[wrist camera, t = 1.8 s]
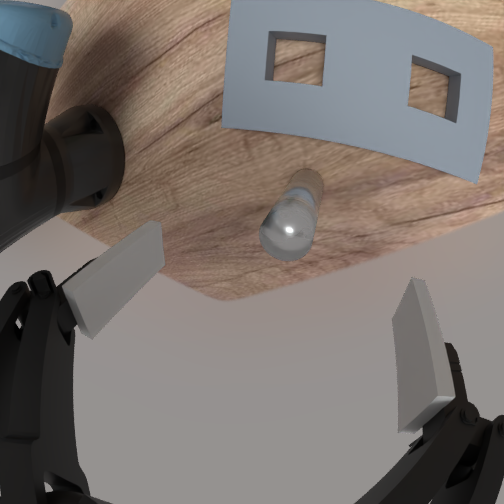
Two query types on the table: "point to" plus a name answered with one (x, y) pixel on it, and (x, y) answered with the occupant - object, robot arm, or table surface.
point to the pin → (293, 217)
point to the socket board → (361, 80)
